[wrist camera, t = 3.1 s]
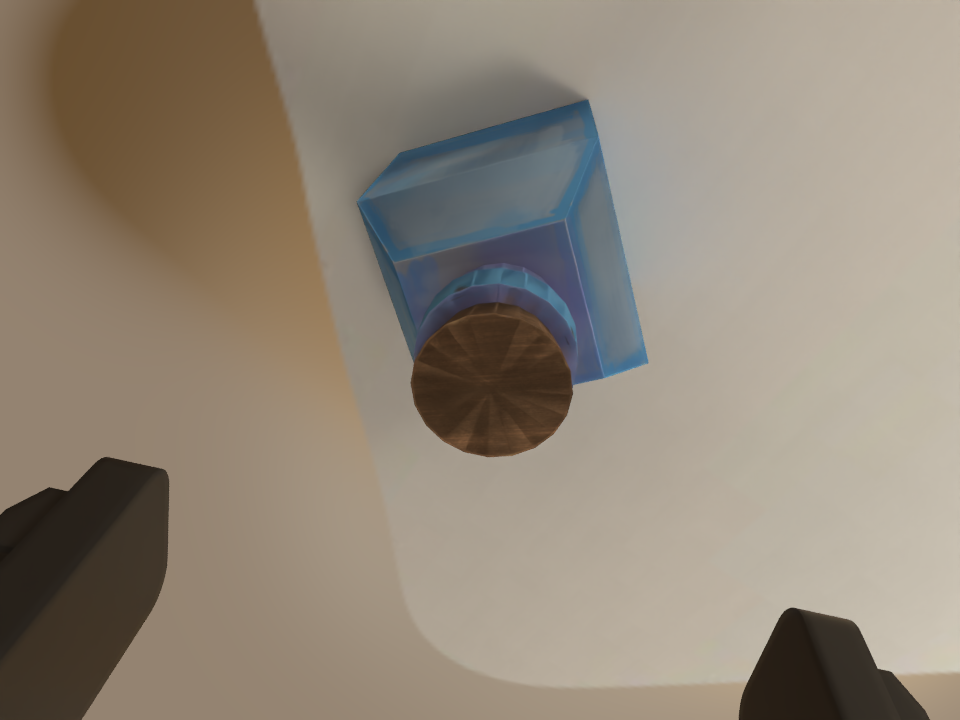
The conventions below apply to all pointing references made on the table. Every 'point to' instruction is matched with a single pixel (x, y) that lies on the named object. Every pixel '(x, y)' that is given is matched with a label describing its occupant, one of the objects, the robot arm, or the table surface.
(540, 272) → the perfume bottle
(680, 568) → the table surface
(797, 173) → the table surface
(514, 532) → the table surface
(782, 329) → the table surface
